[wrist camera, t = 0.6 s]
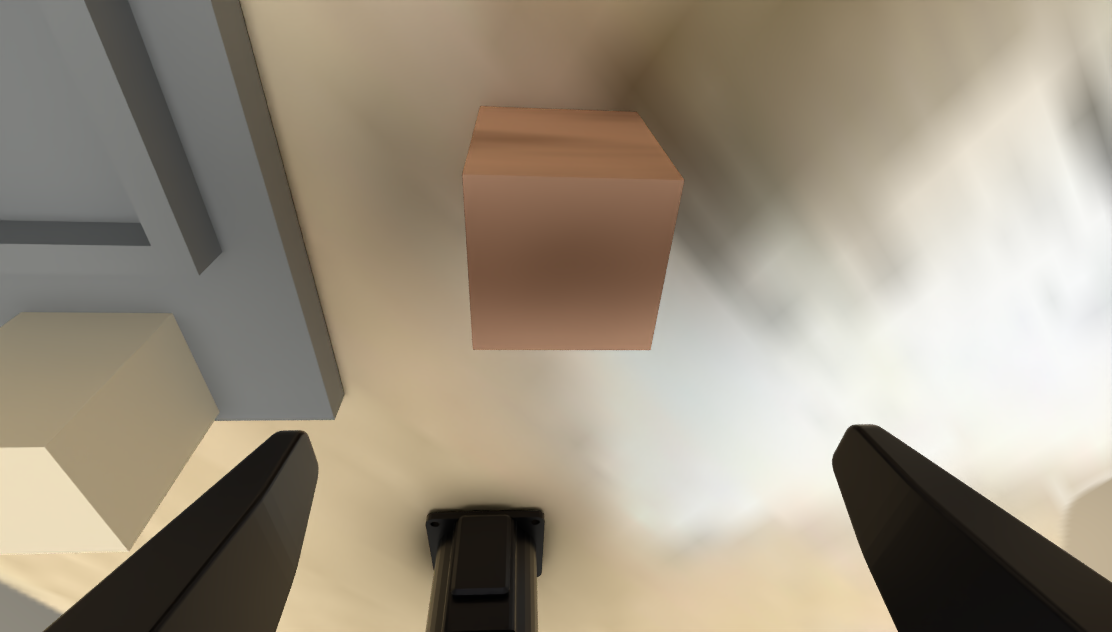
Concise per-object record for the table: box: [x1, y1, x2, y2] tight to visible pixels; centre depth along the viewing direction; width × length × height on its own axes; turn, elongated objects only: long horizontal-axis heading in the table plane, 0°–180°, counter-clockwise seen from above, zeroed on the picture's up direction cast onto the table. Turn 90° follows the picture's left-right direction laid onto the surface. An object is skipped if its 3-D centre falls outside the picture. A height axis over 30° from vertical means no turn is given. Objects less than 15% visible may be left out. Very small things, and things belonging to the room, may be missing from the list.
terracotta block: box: [462, 106, 684, 350], centre depth 15 cm, size 5×5×6 cm
